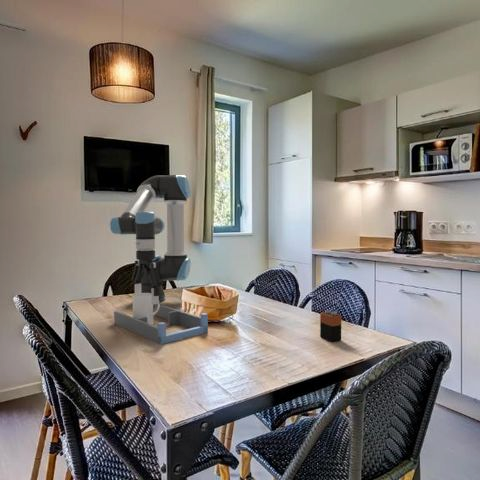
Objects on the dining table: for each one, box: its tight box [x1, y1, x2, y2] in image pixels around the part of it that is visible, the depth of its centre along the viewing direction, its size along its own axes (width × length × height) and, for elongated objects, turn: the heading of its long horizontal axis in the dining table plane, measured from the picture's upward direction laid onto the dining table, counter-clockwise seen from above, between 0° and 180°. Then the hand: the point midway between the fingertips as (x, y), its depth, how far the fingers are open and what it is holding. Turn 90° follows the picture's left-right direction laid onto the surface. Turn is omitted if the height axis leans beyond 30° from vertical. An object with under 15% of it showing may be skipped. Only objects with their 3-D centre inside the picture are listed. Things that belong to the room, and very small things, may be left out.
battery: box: [319, 309, 342, 343], centre depth 139 cm, size 4×7×10 cm, turn 27°
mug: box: [132, 293, 161, 325], centre depth 161 cm, size 12×8×12 cm
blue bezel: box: [157, 312, 209, 345], centre depth 142 cm, size 20×2×7 cm, turn 133°
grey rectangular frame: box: [113, 304, 201, 344], centre depth 155 cm, size 20×34×5 cm, turn 43°
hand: (146, 301), depth 161 cm, fingers open, 13 cm apart
